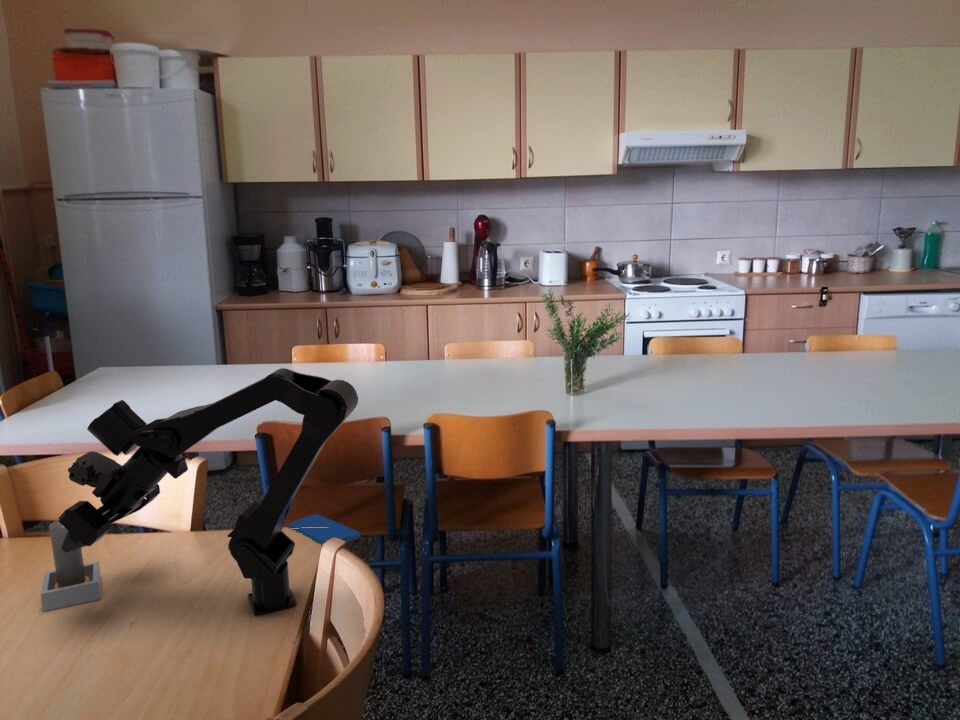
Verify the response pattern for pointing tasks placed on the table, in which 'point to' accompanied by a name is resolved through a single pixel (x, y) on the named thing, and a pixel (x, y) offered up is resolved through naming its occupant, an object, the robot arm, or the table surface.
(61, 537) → the plug
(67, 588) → the socket
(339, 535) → the smartphone
